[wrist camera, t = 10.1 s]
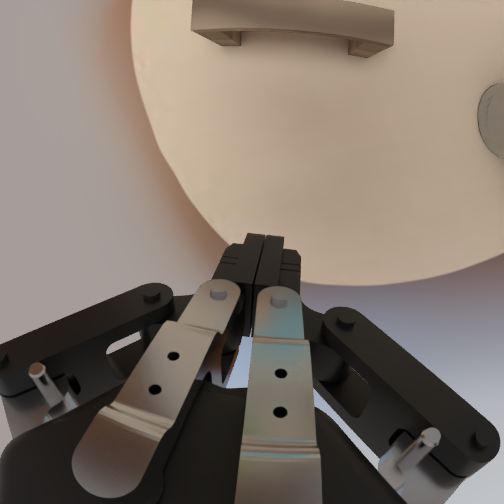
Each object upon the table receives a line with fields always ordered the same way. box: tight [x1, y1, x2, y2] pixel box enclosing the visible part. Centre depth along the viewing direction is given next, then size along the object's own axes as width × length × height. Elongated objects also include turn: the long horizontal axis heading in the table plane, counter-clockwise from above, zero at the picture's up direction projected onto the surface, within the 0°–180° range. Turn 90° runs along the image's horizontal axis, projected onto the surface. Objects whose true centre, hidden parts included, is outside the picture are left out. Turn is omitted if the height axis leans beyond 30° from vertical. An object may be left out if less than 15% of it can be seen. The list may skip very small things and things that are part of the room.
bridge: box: [191, 0, 394, 58], centre depth 21 cm, size 3×15×10 cm, turn 87°
